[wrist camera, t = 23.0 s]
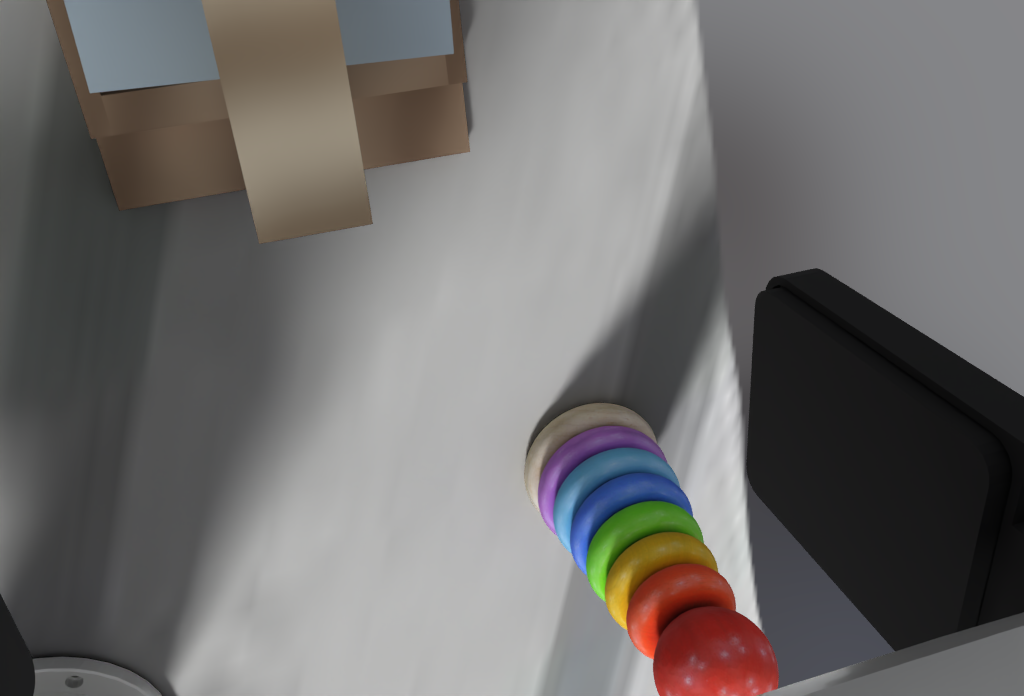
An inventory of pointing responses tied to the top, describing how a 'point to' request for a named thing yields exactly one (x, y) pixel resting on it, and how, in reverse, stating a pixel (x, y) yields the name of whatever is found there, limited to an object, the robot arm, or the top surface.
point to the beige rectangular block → (290, 114)
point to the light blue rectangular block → (188, 49)
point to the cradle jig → (209, 137)
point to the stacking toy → (645, 552)
